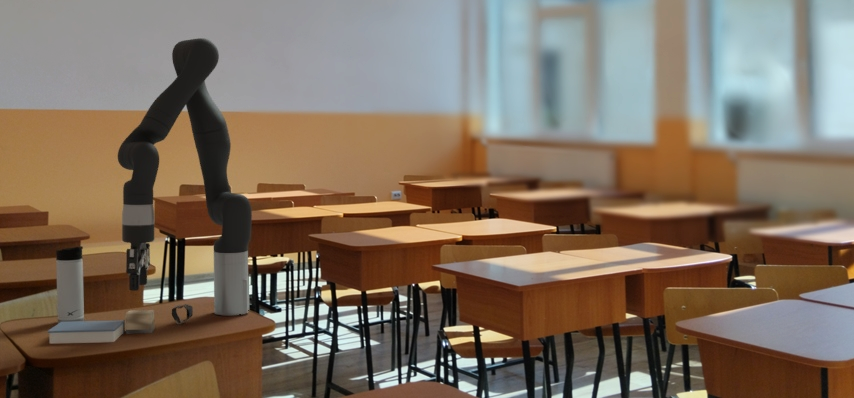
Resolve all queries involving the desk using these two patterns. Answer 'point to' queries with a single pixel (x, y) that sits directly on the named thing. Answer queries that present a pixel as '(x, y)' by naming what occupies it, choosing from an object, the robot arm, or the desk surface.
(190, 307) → the wristwatch
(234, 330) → the desk surface
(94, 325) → the textbook
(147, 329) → the tan wooden block
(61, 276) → the travel mug
